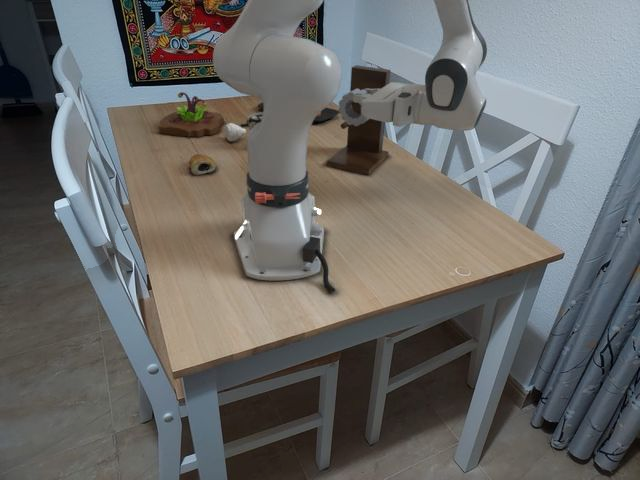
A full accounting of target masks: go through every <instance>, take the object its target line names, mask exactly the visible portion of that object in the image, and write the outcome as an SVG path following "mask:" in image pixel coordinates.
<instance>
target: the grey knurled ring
mask: <svg viewBox="0 0 640 480" xmlns="http://www.w3.org/2000/svg"><path fill="white" fill-rule="evenodd" d="M355 94H362V95H363V96H370V95H371V94H367V91H366V90H364V89H363V90H360V89H355V90H353V91H350V90H349V91H348V92H347V93H345V94H343V95H342V97H341V99H340V100H339V101H338V111H339V114H340V115H341V119H342V121H344V122H345V121H346V122H347V124H348V125H352V124H353V125H354V126H358V125H359V124H363V123H365V122H366V121H367V120H369V118H366V117H364V116H362V115H361V114H360V115H359V114H358V113H355V112H354V110H353V109H352V105H351V103H352V100H353V96H354V95H355ZM359 104H360V103H359ZM360 105H361V104H360Z"/></svg>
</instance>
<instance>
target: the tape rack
mask: <svg viewBox="0 0 640 480" xmlns="http://www.w3.org/2000/svg"><path fill="white" fill-rule="evenodd" d="M390 78H391V69H387V68H379V67H371V66H365V65H359V64H358V65H354V66H352V67H351V71H350V87H349V88H350V90H349V92H350V91H353V90H355V89H360V90H363V89H365V88H367V89H378V88H379V89H381V88H383V87H384V86H386V85H387V84H389V83H390V81H391V79H390ZM351 105H352V109H353V110H354V112H355V113H358V114H359V115H360V114H361V105H360V104H359V103H356V102H353V100H352V103H351ZM385 127H386V122H382V121H377V120H373V119H369V120H367V121H366V122H365V123H363V124H359V125H358V126H354V125H353V124H352V125H348V124H347V122H346V121H344V122H342V123H341V124H340V128H341V129H342V130H345V129H347V139H346V146H344V147H343V148H342V149H341V150H340V149H339V151H338V152H336V153H335V154H334V155H332V156H331V157H330V158H328V159H327V160H326V166H328V167H332V168H336V169H341V170H345V171H349V172H353V173H357V174H361V175H365V176H370V174H372V173H373V172H374V170H376V169H377V168H378V167H379V166H380V165H381V164H382V163H383V162H384V161H385V160H386V159H387V158H388V157H389V151H388V150H383V147H384V136H385Z"/></svg>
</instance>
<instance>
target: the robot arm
mask: <svg viewBox="0 0 640 480" xmlns="http://www.w3.org/2000/svg"><path fill="white" fill-rule="evenodd" d="M323 2H324V0H247V2H246V3H245V6H244V8H243V10H242V11H241V13H240V15H239V16H238V18H237V20H236V21H235V22H234V24H233V25H232V26H231V27H230V28H229V29H228V30H227V31H225V32H224V33H223V34H222V35H220V37H219V38H218V39H217V41H216V43H215V45H214V49H213V53H212V64H213V68H214V71H215V73H216V75H217V77H218V78H219V79H220V80H221V82H223V83H224V84H226V85H227V86H228V87H230V88H232V89H233V90H235V91H236V92H238V93H239V94H243V95H245V96H249V97H252V98H256V99H258V100H261V101H262V103H263V105H264V109H262V110H263V111H262V112H263V116H262V120H261V122H260V123H258V124H256V125H255V126H254V127H253V128H252V129H251V130H249V131H248V132H247V135H246V152H247V153H246V154H247V155H246V156H247V169H248V171H247V173H246V182H245V183H246V190H247V194H246V195H244V197H243V198H242V199H240V200H241V201H240V204H241V218H242V219H241V220H242V224H241V225H240V228H238V229H236V230H235V231H234V232H233V239H234V243H235V246H236V249H237V252H238V255H239V258H240V261H241V265H242V267H243V270H244V273H245V276H246V277H247V278H251V279H255V280H259V281H291V280H299V279H305V278H307V277H311V276H314V275H316V274H318V273H319V272H321V267H322V272H323V273H322V281H323V285H324V287H325V289H326V290H328V291H329V292H330V293H334V292H335V291H336V288H335V287H333V285H331V284H330V282H329V265H328V262H327V261H326V259H325V257H324V255H323V247H324V246H323V245H324V237H325V229H324V227H323V226H321V224H319V223H318V222H317V221H315V217H318V215H322V209H320V208H317V207H315V196H314V195H313V194H311V193H310V192H309V191H310V190H309V186H310V178H309V173H308V170H307V156H308V155H307V153H308V152H307V151H308V139H309V133H310V130H311V127H312V125H313V123H314V122H313V120H314V119H315V117H316V116H317V114H318V113H319V112H321V111H322V110H323V109H325V108H329V106H330V105H331V104H332V103H333V102H334V100H335V99H336V98H337V95H338V93H339V91H340V88H341V84H342V67H341V63H340V60H339V58H338V56H337V55H336V54H335V52H334V51H333V50H331V49H329V48H327V47H326V46H324V45H322V44H320V43H318V42H316V41H313V40H311V39H308V38H305V37H303V38H302V37H299V36H298V37H297V36H295V33H296V31H297V29H298V27H299V26H300V25H301V23H302V22H303V21H304V20H305V19H306V17H308V16H309V15H311V14H312V13H314V12H315V11H317V10H318V9H319V8H320V7H321V6H322V4H323ZM433 2H434V5H435V8H436V11H437V16H438V18H439V22H440V26H441V29H442V41H441V44H440V46H439V47H440V48H439V49H438V51H437V52H436V54H435V55H434V57H432V60H431V61H430V63H429V65H428V67H427V68H426V71H425V75H424V84H419V83H413V82H409V83H403V82H397V81H393V82H392V81H391V82H389V84H387V85H386V86H384V87H383V88H381V89H379V88H378V89H367V88H365V89H364V90H366V91H367V94H371V95H370V96H363V95H362V94H355V95H354V96H353V102H356V103H360V104H361V115H362V116H364V117H366V118H369V119H373V120H377V121H382V122H385V123H392V126H394V127H404V126H407V125H414V124H415V125H419V126H424V125H425V126H426V125H428V126H429V125H430V126H433V127H436V128H438V129H442V130H448V131H459V132H468V131H472V130H474V129H475V128H476V127H477V126H478V124H479V122H480V120H481V118H482V115H483V113H484V111H485V108H486V106H487V97H486V96H484V94H483V93H482V92H481V90H480V87H479V85H478V81H477V77H476V75H477V73H478V71H479V70H480V68H481V66H482V65H483V64H484V63H485V60H486V58H487V53H488V47H487V42H486V40H485V37H484V36H483V34H482V32H480V30H479V29H478V26H477V25H476V24H475V21H474V19H473V15H472V11H471V7H470V3H469V0H433Z"/></svg>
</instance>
